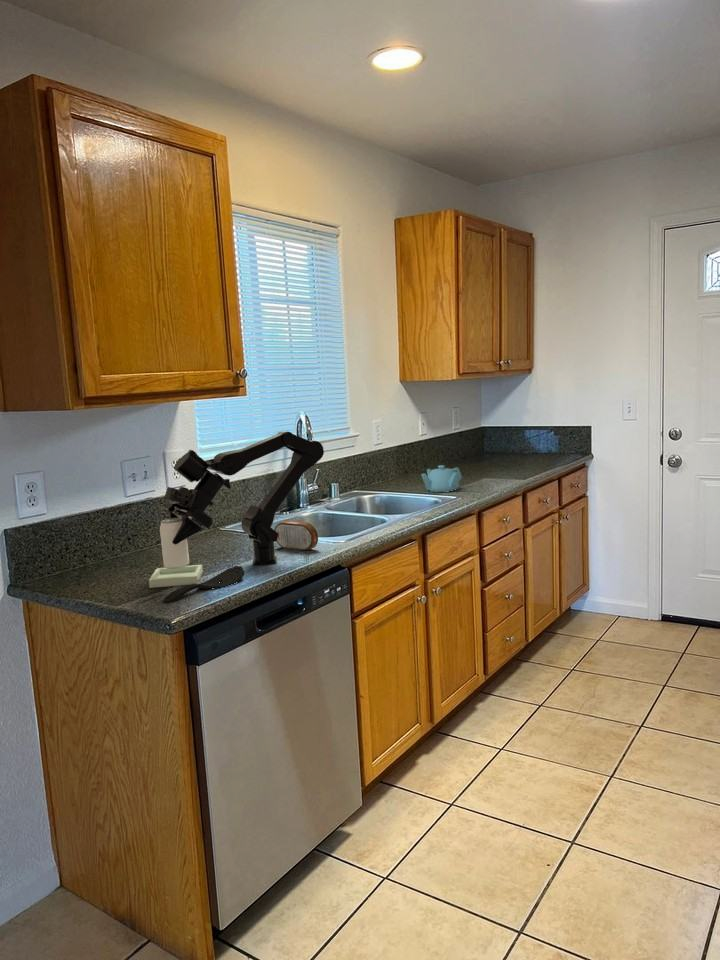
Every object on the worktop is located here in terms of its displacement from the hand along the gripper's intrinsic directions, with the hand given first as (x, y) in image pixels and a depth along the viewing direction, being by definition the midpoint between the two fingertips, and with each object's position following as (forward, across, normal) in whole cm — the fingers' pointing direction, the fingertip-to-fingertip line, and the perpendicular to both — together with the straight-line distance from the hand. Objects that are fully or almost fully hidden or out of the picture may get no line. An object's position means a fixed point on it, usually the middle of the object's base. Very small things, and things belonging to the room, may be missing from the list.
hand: (168, 541), depth 191 cm
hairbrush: (+6, +14, +10) cm, 18 cm away
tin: (-21, -6, +37) cm, 42 cm away
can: (+4, 0, +6) cm, 7 cm away
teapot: (-89, -50, +107) cm, 148 cm away
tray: (+6, 0, +8) cm, 10 cm away
